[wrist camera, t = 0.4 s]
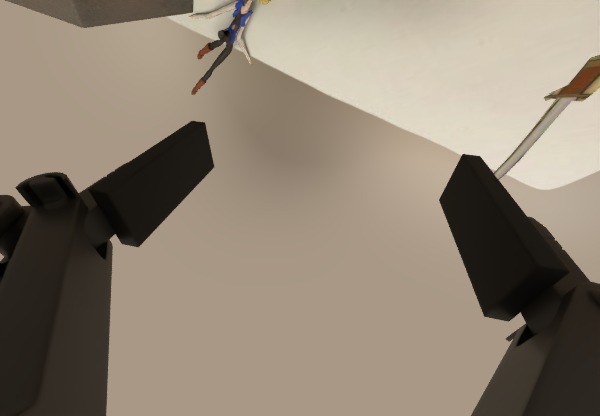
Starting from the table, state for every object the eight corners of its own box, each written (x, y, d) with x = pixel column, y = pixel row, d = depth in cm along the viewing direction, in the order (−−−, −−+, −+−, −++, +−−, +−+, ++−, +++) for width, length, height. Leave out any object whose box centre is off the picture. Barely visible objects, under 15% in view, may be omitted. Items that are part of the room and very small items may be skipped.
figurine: (304, -14, 34) (216, 84, 43) (259, -86, 27) (166, 49, 36) (325, 28, 29) (222, 127, 39) (277, -46, 23) (166, 95, 32)
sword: (501, 192, 48) (472, 189, 49) (501, 191, 48) (472, 188, 49) (631, 56, 27) (577, 56, 28) (629, 54, 27) (576, 54, 28)
